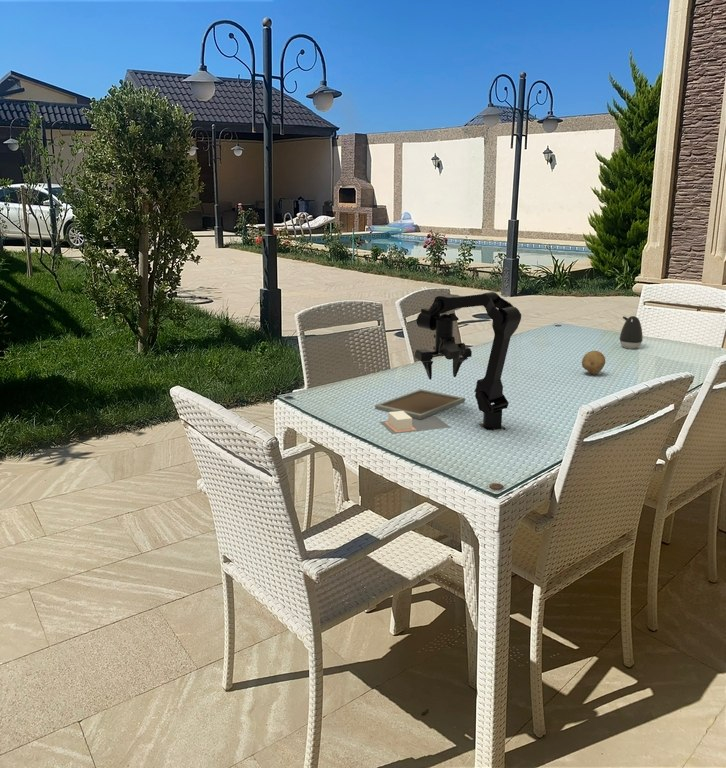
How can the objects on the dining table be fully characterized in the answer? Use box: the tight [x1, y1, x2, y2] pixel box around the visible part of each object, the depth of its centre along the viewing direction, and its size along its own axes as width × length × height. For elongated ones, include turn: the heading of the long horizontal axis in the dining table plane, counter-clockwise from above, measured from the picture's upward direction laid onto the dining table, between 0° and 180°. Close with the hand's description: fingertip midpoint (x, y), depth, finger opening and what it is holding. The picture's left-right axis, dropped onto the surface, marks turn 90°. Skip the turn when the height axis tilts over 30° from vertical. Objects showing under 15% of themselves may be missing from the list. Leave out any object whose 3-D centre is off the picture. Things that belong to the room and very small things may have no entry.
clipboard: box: [374, 388, 466, 420], centre depth 252 cm, size 19×2×30 cm
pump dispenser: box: [619, 315, 644, 350], centre depth 342 cm, size 10×10×15 cm
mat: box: [379, 415, 452, 435], centre depth 233 cm, size 12×20×1 cm, turn 109°
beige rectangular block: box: [387, 411, 412, 430], centre depth 231 cm, size 5×8×4 cm, turn 18°
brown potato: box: [581, 350, 606, 375], centre depth 295 cm, size 9×9×10 cm
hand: (442, 378), depth 245 cm, fingers open, 9 cm apart
